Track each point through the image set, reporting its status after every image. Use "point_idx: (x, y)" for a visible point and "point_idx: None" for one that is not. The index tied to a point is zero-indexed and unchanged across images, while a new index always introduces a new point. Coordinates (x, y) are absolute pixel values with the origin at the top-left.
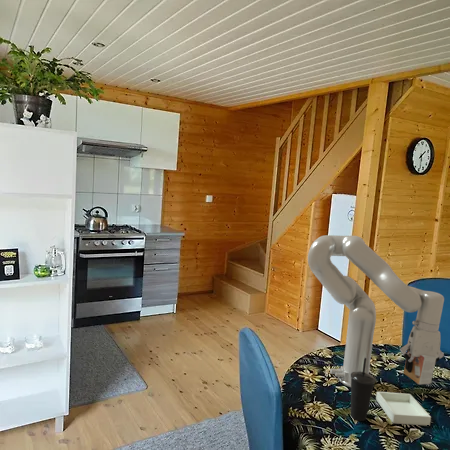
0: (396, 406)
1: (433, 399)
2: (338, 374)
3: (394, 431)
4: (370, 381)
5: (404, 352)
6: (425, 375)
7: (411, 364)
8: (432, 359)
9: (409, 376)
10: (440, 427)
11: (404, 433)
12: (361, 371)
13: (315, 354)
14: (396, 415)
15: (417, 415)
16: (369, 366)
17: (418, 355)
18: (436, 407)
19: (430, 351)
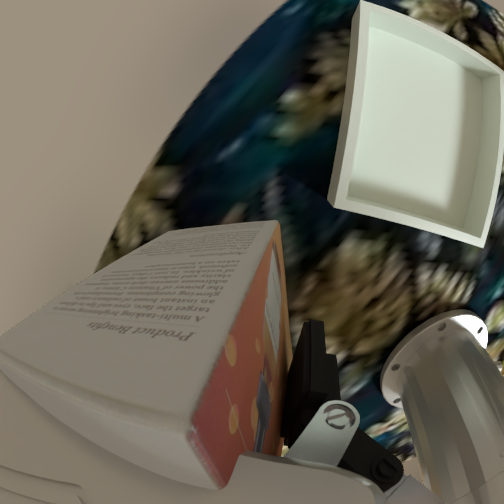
0: (428, 160)
1: (175, 213)
2: (498, 365)
3: (491, 46)
4: None
5: (407, 499)
6: (208, 243)
7: (323, 375)
8: (36, 338)
9: (287, 318)
10: (307, 4)
11: (467, 25)
12: (486, 365)
13: (403, 459)
14: (495, 67)
15: (421, 26)
16: (443, 400)
17: (271, 484)
18: (207, 142)
19: (1, 464)
